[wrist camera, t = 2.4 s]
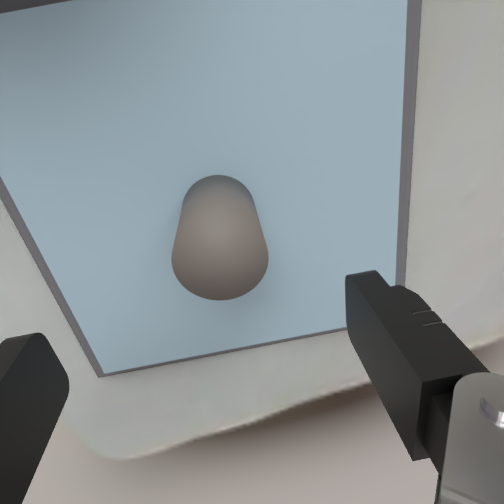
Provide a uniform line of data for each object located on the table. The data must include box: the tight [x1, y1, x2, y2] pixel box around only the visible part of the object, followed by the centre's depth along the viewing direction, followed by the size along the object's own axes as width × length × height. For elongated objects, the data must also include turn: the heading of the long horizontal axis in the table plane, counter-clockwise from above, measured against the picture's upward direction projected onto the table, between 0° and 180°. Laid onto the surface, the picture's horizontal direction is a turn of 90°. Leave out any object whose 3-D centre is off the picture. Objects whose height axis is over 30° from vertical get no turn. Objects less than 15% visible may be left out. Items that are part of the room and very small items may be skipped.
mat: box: [0, 0, 422, 378], centre depth 18 cm, size 20×20×1 cm
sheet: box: [0, 0, 407, 374], centre depth 15 cm, size 18×18×6 cm
